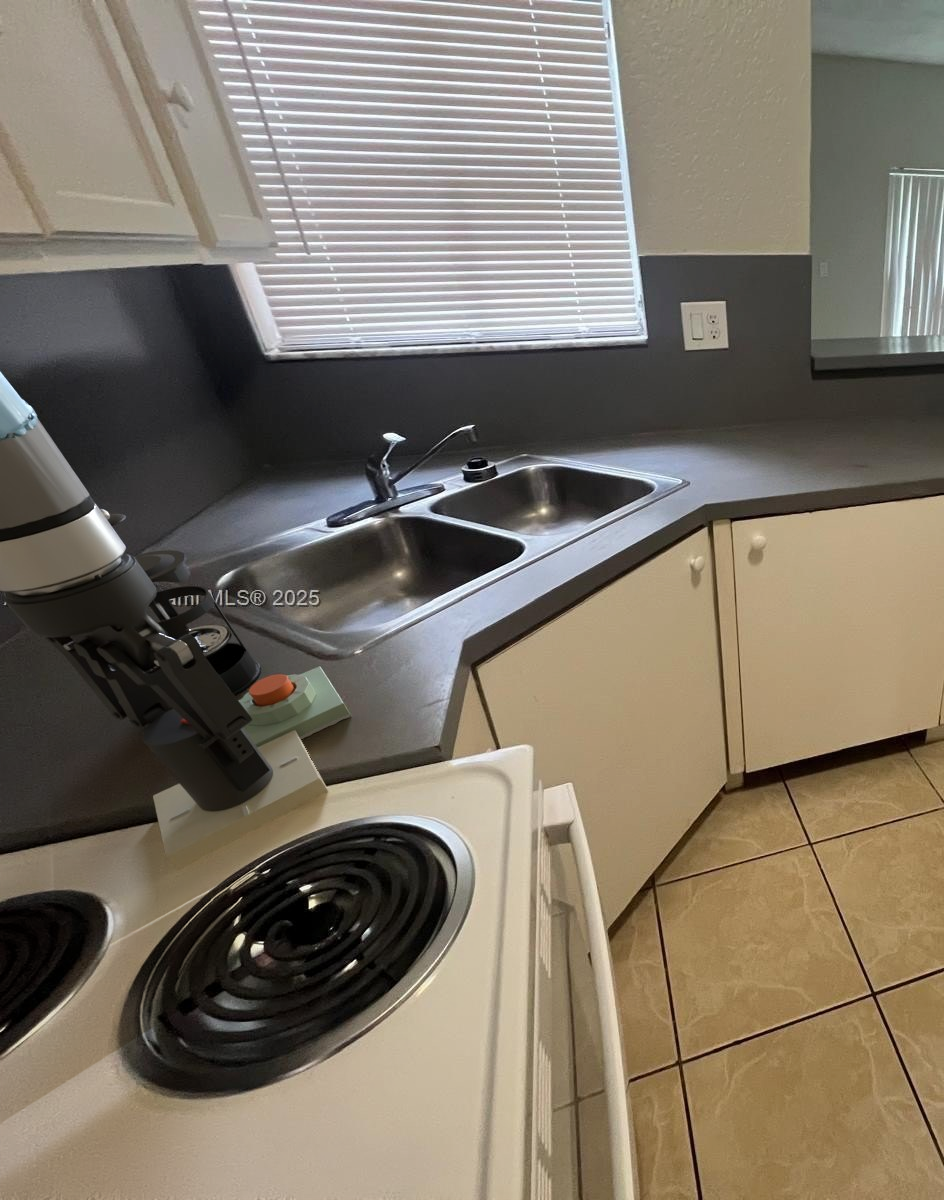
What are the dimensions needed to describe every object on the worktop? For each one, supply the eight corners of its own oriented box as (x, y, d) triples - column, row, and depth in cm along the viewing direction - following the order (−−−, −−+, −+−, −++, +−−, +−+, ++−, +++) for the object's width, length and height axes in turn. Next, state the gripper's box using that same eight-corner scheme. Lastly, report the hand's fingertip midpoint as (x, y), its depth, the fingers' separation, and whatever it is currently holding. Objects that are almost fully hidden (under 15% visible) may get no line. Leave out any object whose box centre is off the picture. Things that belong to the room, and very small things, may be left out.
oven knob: (182, 805, 60) (122, 736, 55) (242, 758, 65) (191, 691, 60) (230, 816, 59) (173, 747, 54) (287, 768, 64) (240, 700, 59)
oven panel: (164, 808, 63) (151, 793, 62) (303, 742, 70) (293, 728, 69) (178, 871, 57) (164, 856, 56) (329, 791, 64) (319, 777, 63)
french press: (272, 683, 78) (164, 517, 66) (177, 725, 73) (38, 552, 60) (247, 647, 85) (144, 490, 72) (158, 683, 79) (28, 519, 66)
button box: (230, 721, 73) (211, 695, 71) (327, 679, 79) (313, 654, 77) (248, 766, 67) (228, 739, 65) (351, 716, 73) (336, 691, 71)
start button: (253, 696, 71) (245, 685, 70) (290, 681, 73) (283, 669, 72) (260, 711, 69) (252, 699, 68) (298, 695, 71) (291, 683, 70)
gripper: (210, 559, 49) (338, 761, 62) (39, 537, 53) (192, 731, 66) (101, 612, 43) (268, 824, 56) (-82, 583, 47) (112, 787, 60)
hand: (226, 773), depth 61 cm, fingers closed on oven knob, 6 cm apart
